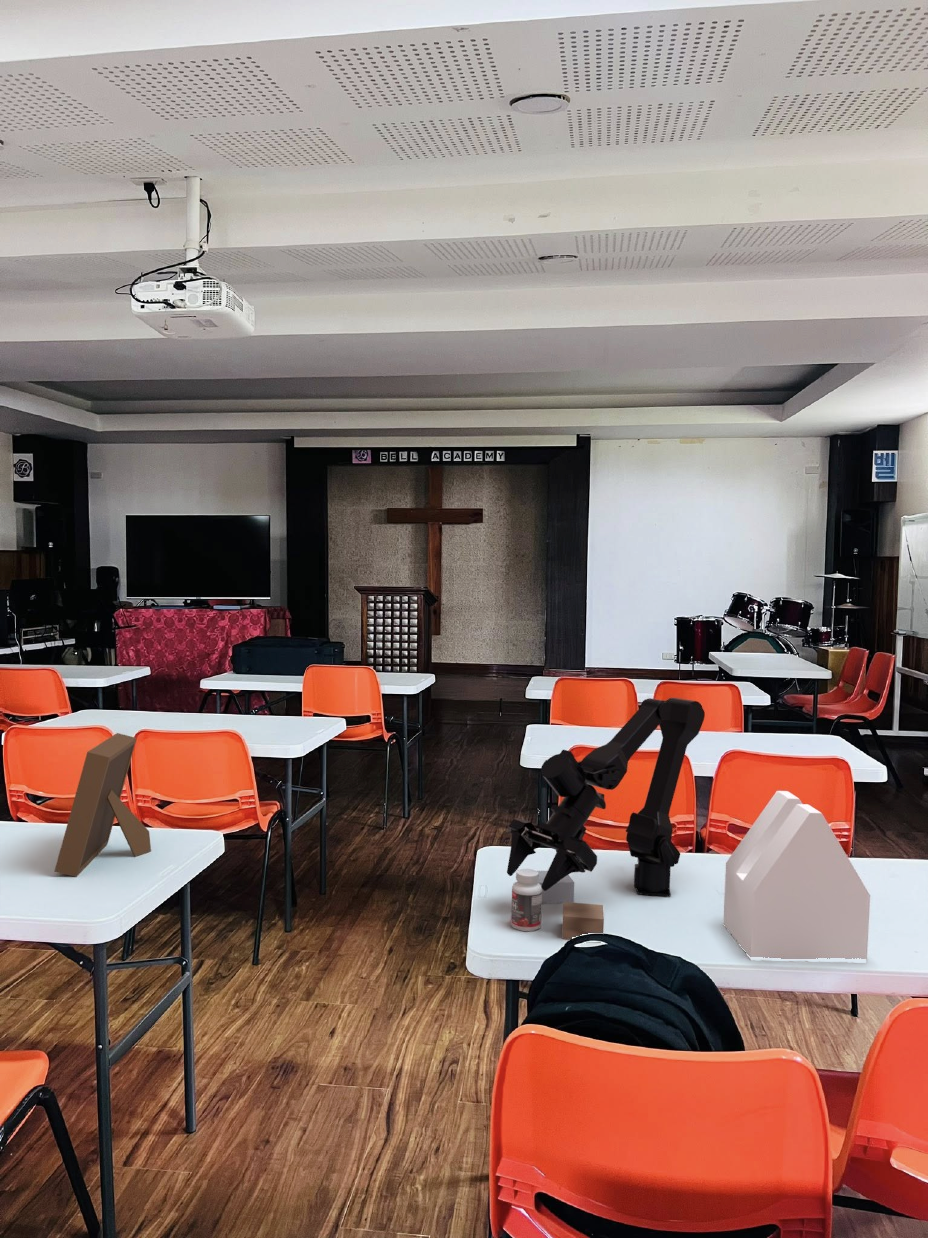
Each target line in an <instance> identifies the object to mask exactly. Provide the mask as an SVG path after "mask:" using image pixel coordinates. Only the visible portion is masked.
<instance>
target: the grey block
mask: <svg viewBox="0 0 928 1238" xmlns="http://www.w3.org/2000/svg"><path fill="white" fill-rule="evenodd" d="M536 871H537V872H538V873H539V879H538V880H539V881H538V882H537V883H539V884H540V885H541V886H542V883H543V881H544V878H545V876H546V874H547V872H548V870H536ZM574 897H575V881H574V880H573V879H572V877H571V876H570V874H569V875H567V876H565V877H564V878H563V879H561V880H560V881H558V882H557V883H556V884H554V885H553V886H552V887H550V888H549V889H548V890H546V891H544V890H543V889H542V904H564V902H573V903H575V902H574V901H575V899H574Z"/></svg>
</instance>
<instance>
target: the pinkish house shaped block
mask: <svg viewBox="0 0 928 1238" xmlns="http://www.w3.org/2000/svg"><path fill="white" fill-rule="evenodd" d="M724 877H725V878H724V880H725V881H724V899H723V900H724V901H723V922H722V925H723V924H724V925H725V926H724V925H723V926H724V928H725V927H726V928H727V929H728V930H729V932H730V933H731V934H732V936H733V937H734V938H735V939H736V940H737V942H738V943H739V944H740V945H741V947H742V948H743V949H744V950H745V951H746V953H747V954H748V955H749V956H750V957H763V958H764V957H765V958H768V957H769V958H781V959H816V958H817V959H818V958H827V959H828V958H829V959H830V958H845V959H852V958H853V959H855V958H856V959H857V958H859V959H860V958H861V959H867V960H868V950H869V949H868V947H869V928H870V905H871V904H870V903H871V894H870V892H869V890H868V889H867V888H866V885H865V884H864V882H863V881H862V879H861V877H860V876H859V874H858V872H857V870H856V868H855V867H854V866H853V863H852V862H851V861H850V859H849V857H848V855H847V853H846V852H845V850H844V848H843V847H842V844H841V843H840V842H839V840H838V838H837V837H836V835H835V833H834V831H833V830H832V827H830V825H829V822H828V820H826V817H825V816H824V814H823V813H822V812H821V811H819V810H818V809H816V808H814V807H813V806H812V805H810V804H807V803H805V804H804V803H803V802H802V801H801V799H800V798H799V797H797V795H795V794H793V793H792V792H790V791H788V790H776V792H775V793H774V795H773V796H772V797H771V798H770V800H769V801H768V803H767V804H766V805H765V807H764V808H763V809H762V811H761V812H760V813H759V815H758V817H757V818H756V820H755V821H754V822H753V824H751V826H750V828H749V830H748V831H747V832H746V833H745V835H744V836H743V838H742V839H741V841H740V842H739V844H738V845H737V846H736V848H735V850H733V852H732V854H731V855H730V856H729V858H728V859H727V861H726V862H725V875H724ZM726 928H725V929H726ZM727 929H726V930H727ZM728 930H727V931H728ZM729 932H728V933H729ZM730 933H729V934H730ZM731 934H730V935H731ZM732 936H731V937H732ZM733 937H732V938H733ZM734 938H733V939H734ZM735 939H734V940H735ZM737 942H736V943H737ZM738 943H737V944H738ZM741 947H740V948H741Z"/></svg>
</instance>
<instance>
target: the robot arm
mask: <svg viewBox="0 0 928 1238" xmlns="http://www.w3.org/2000/svg"><path fill="white" fill-rule="evenodd" d="M705 716H706V715H705V709H704V707H703V706H702V704H701V703H700V702H699V701H697V700H690V699H683V698H680V697H679V698H678V697H670V698H667V699H666V700H662V699H656V698H652V697H651V698H650V697H648V698H647V699H646V698H645V699H644V700H642V702H641V704H640V707H639V708H638V710H637V711H636V712H635V713H634V714H633V715H632V716H631V717H630V719H628V721H626V722H625V724H624V725H623V727H622V728H621V729H620V730H619V731H618V732H617V733H616V734H615V735H614V736H613V737H612V739H610V741H608V742H607V743H606V744H604V745H601V746H599V747H596V748H594V749H593V750H591V751H590V752H589V753H588V754H587V755H585V756H584V757H583V758H582V760H580V761H578V760H577V759H576V758H575V755H574V754H573V752H572V751H570V750H567V749H562V750H561V752H560V753H558V754H554V755H552V756H550V757H549V758H548V759H546V760H544V761H543V764H542V765H541V768H540V774H541V775H542V777H543V778H544V780H545V781H546V782H547V783H548V785H549V786H550V787H551V789H553V791H554V792H555V794H556V795H557V796H558V797H561V798H562V800H561V802H559V803H558V804H552V806H551V807H550V810H551V811H552V812H553V813H552V814H551V816H550V817H549V818H548V820H547V821H546V822H542V821H541V822H540V823H539V824H538V826H537V827H538V829H540V831H541V832H539V830H538V829H537V828H536V827H535V826H534V824H532V822H531V821H528V820H525V819H522V818H520V817H516V818H513V819H512V821H511V822H510V823H509V825H508V826H507V828H508V830H509V831H510V832H509V834H510V836H511V844H510V852H509V858H508V864H507V869H506V873H507V875H508V876H509V877H511V876H513V875H514V874H516V872H517V871H518V870H519V868H520V866H521V865H522V864H523V863H524V861H525V860H526V859H527V857H528V856H530V855H534V854H536V853H537V852H536V851H535V850H536V849H538V848H540V846H541V845H542V846H544V847H547V848H550V849H553V850H555V852H556V853H555V855H554V857H553V859H552V862H551V863H550V865H549V868H548V869H547V871H548V872H547V874H546V876H545V878H544V881H543V883H542V886H541V888H542V889H543V890H544V891H546V890H548V889H549V888H550V887H552V886H553V885H554V884H556V883H557V882H558V881H560V880H561V879H563V878H564V877H565V876H567V875H569V876H570V874H572V873H585V872H586V871H587V872H590V873H591V872H592V871H593V870H594V869H595V867H596V866H597V864H598V855H596V853H595V851H594V850H593V849H592V848H591V846H590V845H589V844H588V843H587V841H586V840H584V839H583V838H584V836H585V835H586V831H587V828H586V827H585V824H586V822H587V821H588V819H589V818H590V817H591V815H592V814H593V812H594V811H595V809H596V808H598V809H600V810H605V809H607V804H606V800H605V794H604V793H601V792H598V791H597V790H596V788H599V789H602V790H603V789H604V790H608V791H609V790H611V791H613V790H615V789H616V788H617V787H619V785H620V783H621V782H622V780H623V779H624V777H625V775H626V774H627V772H628V765H629V761H630V759H632V757H633V756H634V754H635V753H636V752H637V751H638V750H639V749H640V748H641V747H642V746H643V744H644V743H645V742H646V740H647V739H648V738H649V737H650V736H651V735H652V734H653V733H654V731H655V730H656V729H657V728H658V727H659V728H660V732H661V737H662V741H661V744H660V748H659V752H658V755H657V758H656V762H655V766H654V770H653V772H652V777H651V780H650V784H649V788H648V792H647V794H646V799H645V802H644V806H643V807H642V808H641V809H640V810H639V811H638V812H632V813H631V814H630V816H629V821H628V826H627V827H626V829H625V832H626V837H625V839H626V843H627V845H628V849H629V854H630V857H632V858H637V863H635V864H634V872H633V873H634V875H633V886H634V888H635V889H636V894H638V895H646V896H647V895H648V896H661V897H671V896H672V895H671V894H672V892H671V890H670V889H671V886H670V885H671V867H675V865H678V864H679V860H680V857H681V852H680V851H679V849H678V848H677V847H676V845H675V844H674V843H673V841H672V836H673V831H674V830H673V826H672V823H671V817H670V811H671V807H672V803H673V800H674V796H675V793H676V789H677V785H678V781H679V777H680V773H681V769H682V765H683V763H684V759H685V754H686V751H687V747H688V745H689V744H690V743H691V742H692V741H693V740H694V739H695V738H696V737H697V736H698V735H699V734H700V731H701V728H702V725H703V723H704V720H705ZM595 787H596V788H595Z"/></svg>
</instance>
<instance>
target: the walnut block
mask: <svg viewBox="0 0 928 1238" xmlns="http://www.w3.org/2000/svg"><path fill="white" fill-rule="evenodd" d="M562 904H563V907H562V925H561V927H562V928H561V939H562V940H569V939H572V937H576V936H580V935H582V934H588V933H603V934H604V927H605V925H604V923H605V916H604V915H605V914H604V904H599V903H598V904H597V903H583V902H574V903H573V902H564V903H562Z"/></svg>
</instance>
